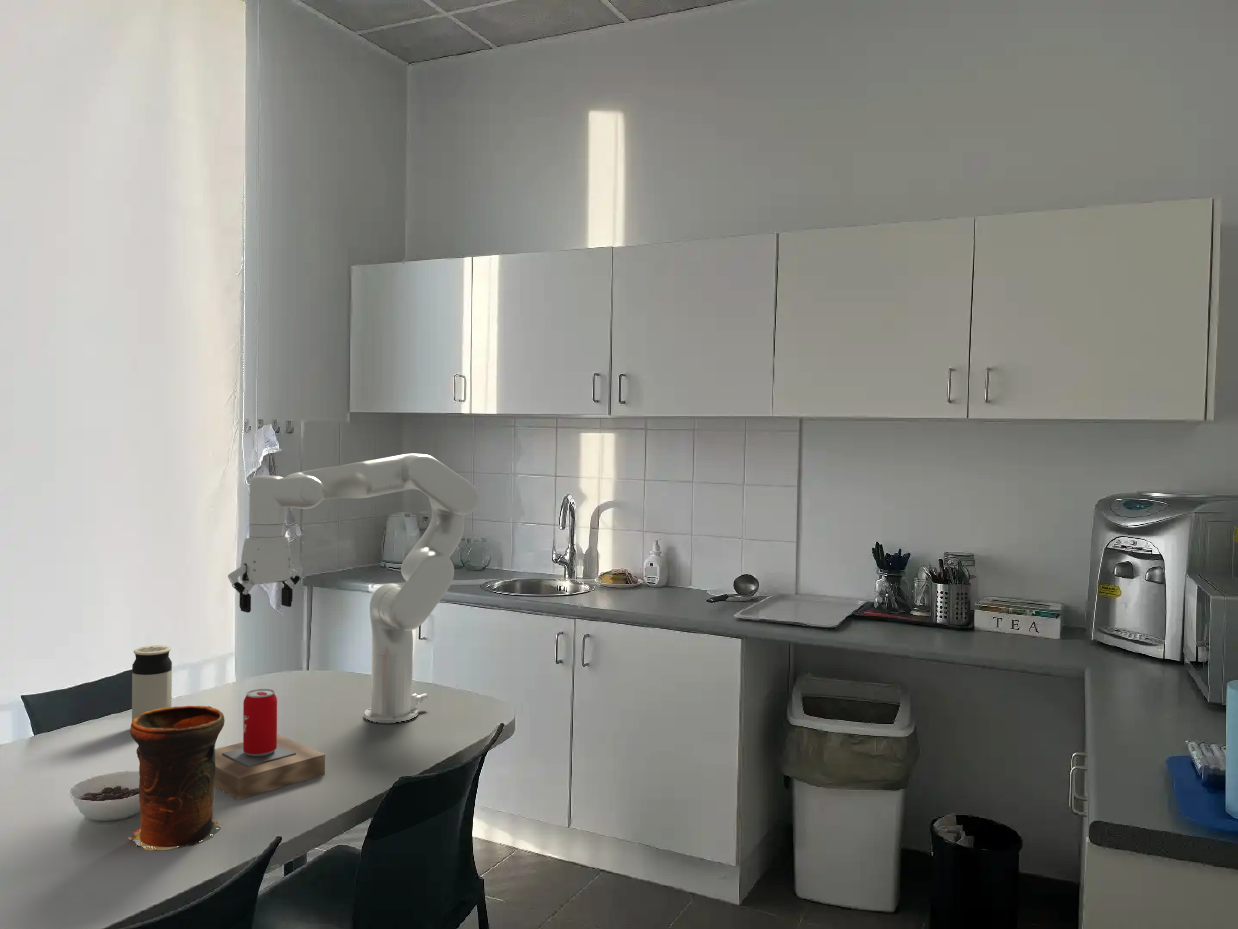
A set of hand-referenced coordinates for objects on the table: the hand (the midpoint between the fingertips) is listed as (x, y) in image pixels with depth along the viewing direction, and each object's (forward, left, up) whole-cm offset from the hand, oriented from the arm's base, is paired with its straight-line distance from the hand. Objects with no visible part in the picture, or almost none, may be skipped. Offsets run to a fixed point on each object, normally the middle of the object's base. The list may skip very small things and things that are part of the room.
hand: (266, 608), depth 210 cm
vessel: (+36, +36, -28) cm, 58 cm away
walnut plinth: (+13, +21, -28) cm, 38 cm away
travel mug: (+15, -22, -28) cm, 39 cm away
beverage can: (+13, +21, -24) cm, 34 cm away
